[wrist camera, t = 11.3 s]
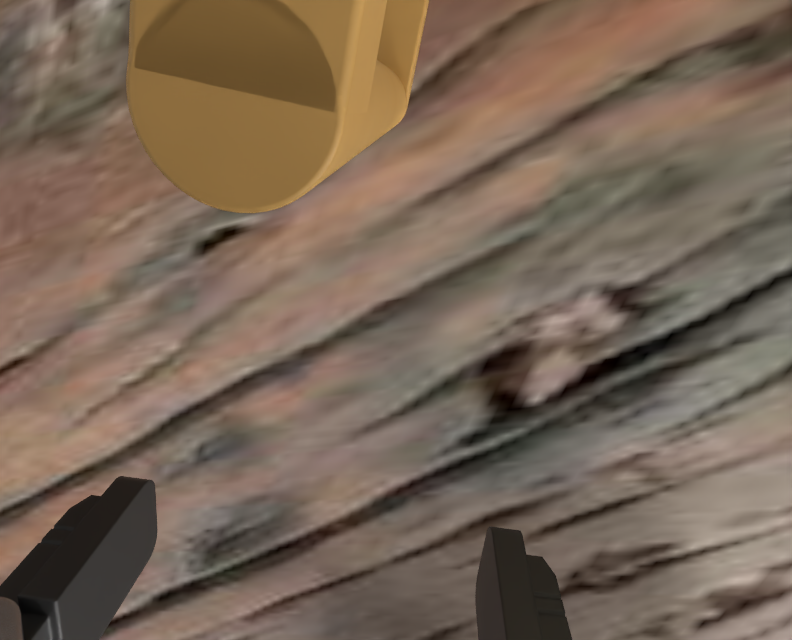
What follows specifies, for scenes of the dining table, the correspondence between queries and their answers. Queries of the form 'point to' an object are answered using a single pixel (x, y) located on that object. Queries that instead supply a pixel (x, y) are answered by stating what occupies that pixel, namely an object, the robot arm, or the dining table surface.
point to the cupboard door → (266, 90)
